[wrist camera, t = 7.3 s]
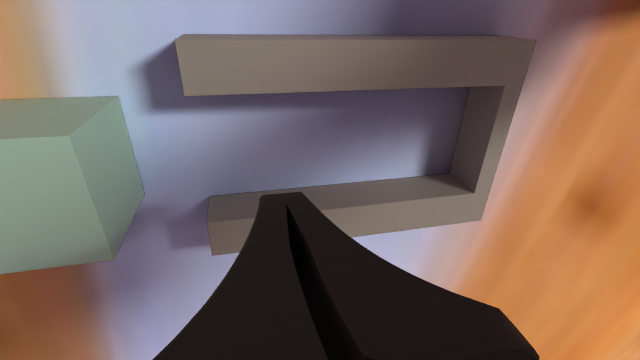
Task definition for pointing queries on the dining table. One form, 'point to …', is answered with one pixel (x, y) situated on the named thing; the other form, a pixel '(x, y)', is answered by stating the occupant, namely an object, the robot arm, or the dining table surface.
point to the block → (64, 182)
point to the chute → (368, 74)
